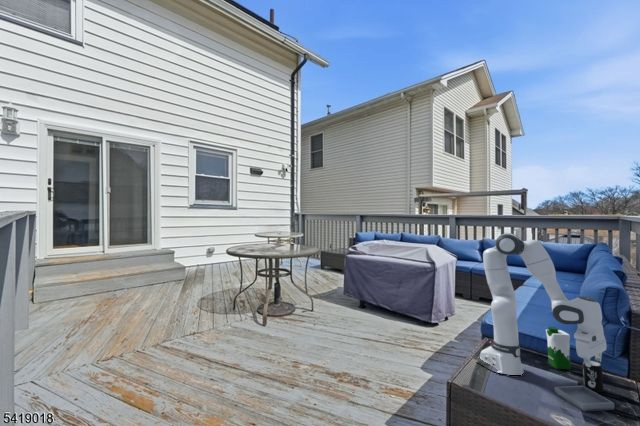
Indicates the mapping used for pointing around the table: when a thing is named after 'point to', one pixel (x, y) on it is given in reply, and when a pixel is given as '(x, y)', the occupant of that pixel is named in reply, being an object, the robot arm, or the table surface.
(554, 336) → the milk carton
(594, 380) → the beverage can
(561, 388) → the tray
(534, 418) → the table surface
